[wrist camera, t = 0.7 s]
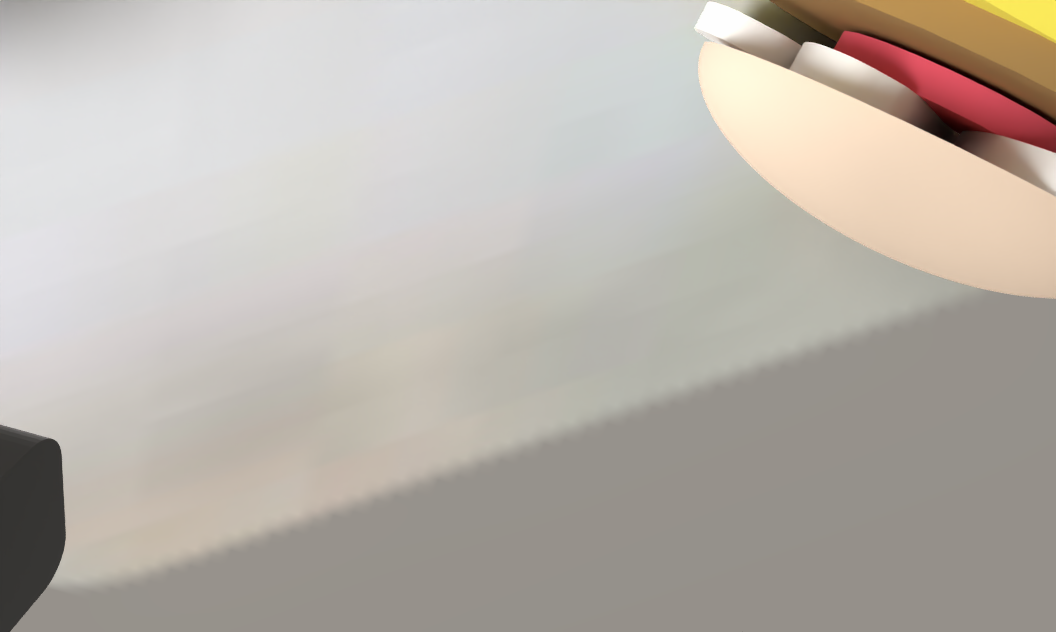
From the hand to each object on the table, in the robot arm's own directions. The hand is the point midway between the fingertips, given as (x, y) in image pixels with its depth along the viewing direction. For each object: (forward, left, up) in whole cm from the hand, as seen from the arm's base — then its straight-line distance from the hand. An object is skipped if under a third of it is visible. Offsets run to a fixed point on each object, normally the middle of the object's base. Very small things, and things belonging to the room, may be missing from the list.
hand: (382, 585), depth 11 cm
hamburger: (+6, +12, -21) cm, 25 cm away
